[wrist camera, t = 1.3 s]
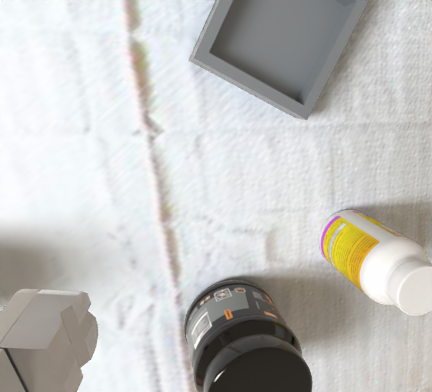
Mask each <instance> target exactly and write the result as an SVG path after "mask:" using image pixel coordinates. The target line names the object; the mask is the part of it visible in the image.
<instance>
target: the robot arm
mask: <svg viewBox="0 0 432 392" xmlns="http://www.w3.org/2000/svg"><path fill="white" fill-rule="evenodd" d="M90 305H91V302H90V299H89V296H88V294H87V293H85V292H81V291H64V290H46V289H42V290H39V289H21V290H19V291H17V292H15V293H14V295H13V296H12V297H11V299H10V300H9V301H8V303H7V304H6V305H5V306H4V308H3V309H2V310H1V312H0V392H77V390H78V388H79V386H80V383H81V381H82V379H83V374H82V371H81V367H82V366H83V365H84V364H86V363H87V362H88V361H89V360H91V358H92V356H93V353H94V351H95V348H96V344H97V338H98V325H97V321H96V318H95V317H94V316H93V315H92V314H91V313H90V312H88V309H89V307H90Z"/></svg>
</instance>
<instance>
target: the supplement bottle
mask: <svg viewBox="0 0 432 392" xmlns="http://www.w3.org/2000/svg"><path fill="white" fill-rule="evenodd" d="M318 245H319V249H320V251H321V253H322V255H323V256H324V258H325V259H326V260H327V261H328V262H330V263H331V264H332V265H333V266H334V267H335V268H337V269H338V270H339V271H340V272H341V273H342V274H343V275H345V276H346V277H347V278H348V279H349V280H350V281H351V282H353V283H354V284H355V285H356V286H357V287H358V288H359V289H360V290H362V291H363V292H364V293H365V294H366V295H367V296H368V297H370V298H371V299H372V300H374V301H375V302H377V303H380V304H384V305H395V306H397V307H398V308H399V309H400V310H402V311H403V312H404V313H406V314H408V315H412V316H419V315H423V314H426V313H428V312H429V311H431V310H432V264H431V263H430V262H429V261H428V257H427V255H426V253H425V251H424V249H423V248H422V247H421V246H420V245H419V244H417V243H416V242H414V241H413V240H411V239H409V238H407V237H405V236H403V235H402V234H400V233H398V232H396V231H394V230H392V229H391V228H389V227H387V226H385V225H383V224H382V223H380V222H378V221H376V220H374V219H373V218H371V217H369V216H367V215H365V214H363V213H361V212H359V211H356V210H343V211H340V212H337V213H335V214H334V215H332V216H331V217H329V218H328V219H327V220H326V222H325V223H324V224H323V226H322V228H321V230H320V233H319V237H318Z"/></svg>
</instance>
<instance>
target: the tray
mask: <svg viewBox="0 0 432 392" xmlns="http://www.w3.org/2000/svg"><path fill="white" fill-rule="evenodd" d="M368 1H369V0H216V1H215V3H214V5H213V8H212V10H211V12H210V14H209V16H208V19H207V21H206V23H205V25H204V28H203V30H202V32H201V34H200V36H199V39H198V41H197V43H196V45H195V47H194V50H193V52H192V54H191V56H190V58H189V61H191V62H193V63H195V64H197V65H198V66H200V67H202V68H204V69H206V70H208V71H210V72H211V73H213V74H215V75H217V76H219V77H221V78H222V79H224V80H226V81H228V82H230V83H232V84H234V85H235V86H237V87H239V88H241V89H243V90H245V91H247V92H248V93H250V94H252V95H254V96H256V97H258V98H260V99H261V100H263V101H265V102H267V103H269V104H271V105H272V106H274V107H276V108H278V109H280V110H282V111H284V112H285V113H287V114H289V115H291V116H293V117H295V118H300V119H305V120H307V119H308V117H309V115H310V113H311V112H312V110H313V108H314V106H315V104H316V102H317V100H318V98H319V96H320V94H321V92H322V90H323V88H324V86H325V84H326V83H327V81H328V79H329V77H330V75H331V73H332V71H333V69H334V67H335V65H336V63H337V61H338V59H339V57H340V56H341V54H342V52H343V50H344V48H345V46H346V44H347V42H348V40H349V38H350V36H351V34H352V32H353V30H354V28H355V27H356V25H357V23H358V21H359V19H360V17H361V15H362V13H363V11H364V9H365V7H366V5H367V3H368Z"/></svg>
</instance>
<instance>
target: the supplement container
mask: <svg viewBox="0 0 432 392" xmlns="http://www.w3.org/2000/svg"><path fill="white" fill-rule="evenodd" d="M184 330H185V337H186V341H187V344H188V348H189V352H190V357H191V362H192V367H193V378H194V383H195V387H196V389H197V392H312V376H311V372H310V369H309V367H308V365H307V364H306V362H305V360H304V359H303V357H302V351H301V347H300V344H299V341H298V339H297V337H296V336H295V334H294V333H293V332H292V330H291V329H290V328H289V327H288V326H287V324H286V323H285V321H284V320H283V318H282V317H281V315H280V314H279V312H278V310H277V309H276V307H275V306H274V303H273V302H272V300H271V298H270V297H269V295H268V294H267V293H266V292H265V291H264V290H263V289H261V288H260V287H259V286H257V285H255V284H253V283H250V282H247V281H243V280H227V281H223V282H219V283H216V284H214V285H212V286H210V287H208V288H207V289H205V290H204V291H203V292H201V293H200V294H199V295H198V296H197V297H196V299H195V300H194V301H193V303H192V304H191V306H190V308H189V310H188V312H187V315H186V319H185V327H184Z"/></svg>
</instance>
